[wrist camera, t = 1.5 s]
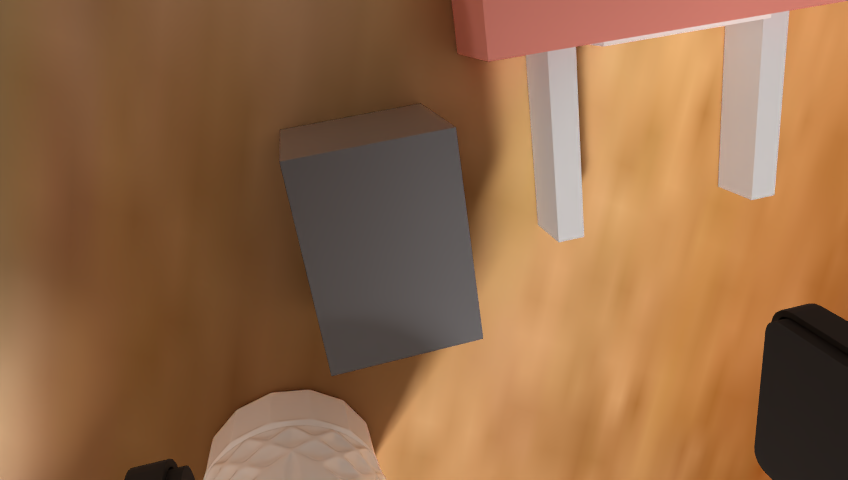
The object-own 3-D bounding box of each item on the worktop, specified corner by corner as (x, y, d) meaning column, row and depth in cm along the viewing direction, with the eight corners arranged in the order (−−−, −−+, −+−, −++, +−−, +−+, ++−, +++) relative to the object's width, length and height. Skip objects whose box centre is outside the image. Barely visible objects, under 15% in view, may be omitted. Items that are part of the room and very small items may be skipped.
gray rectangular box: (445, 277, 25) (483, 338, 20) (322, 306, 24) (331, 376, 19) (419, 102, 22) (455, 127, 17) (279, 129, 21) (279, 161, 17)
